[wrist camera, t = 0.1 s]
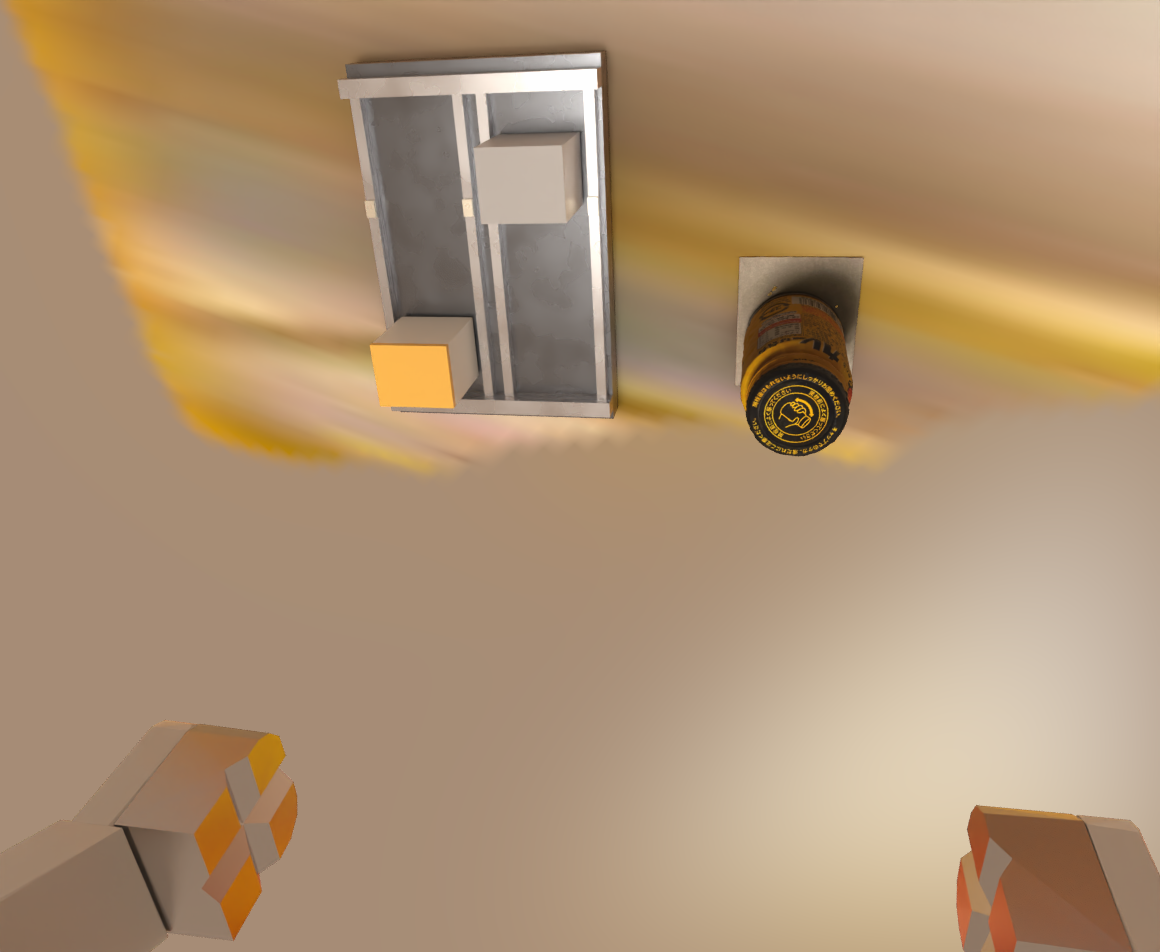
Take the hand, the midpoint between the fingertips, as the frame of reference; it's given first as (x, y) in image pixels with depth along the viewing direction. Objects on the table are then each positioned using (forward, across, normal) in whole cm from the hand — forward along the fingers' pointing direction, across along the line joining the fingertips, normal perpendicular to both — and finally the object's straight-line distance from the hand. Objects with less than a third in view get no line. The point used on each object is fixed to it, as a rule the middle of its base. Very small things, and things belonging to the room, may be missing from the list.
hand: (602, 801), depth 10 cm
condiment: (+48, -4, +10) cm, 49 cm away
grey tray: (+48, +15, +5) cm, 50 cm away
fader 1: (+46, +19, +11) cm, 51 cm away
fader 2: (+46, +11, 0) cm, 47 cm away
